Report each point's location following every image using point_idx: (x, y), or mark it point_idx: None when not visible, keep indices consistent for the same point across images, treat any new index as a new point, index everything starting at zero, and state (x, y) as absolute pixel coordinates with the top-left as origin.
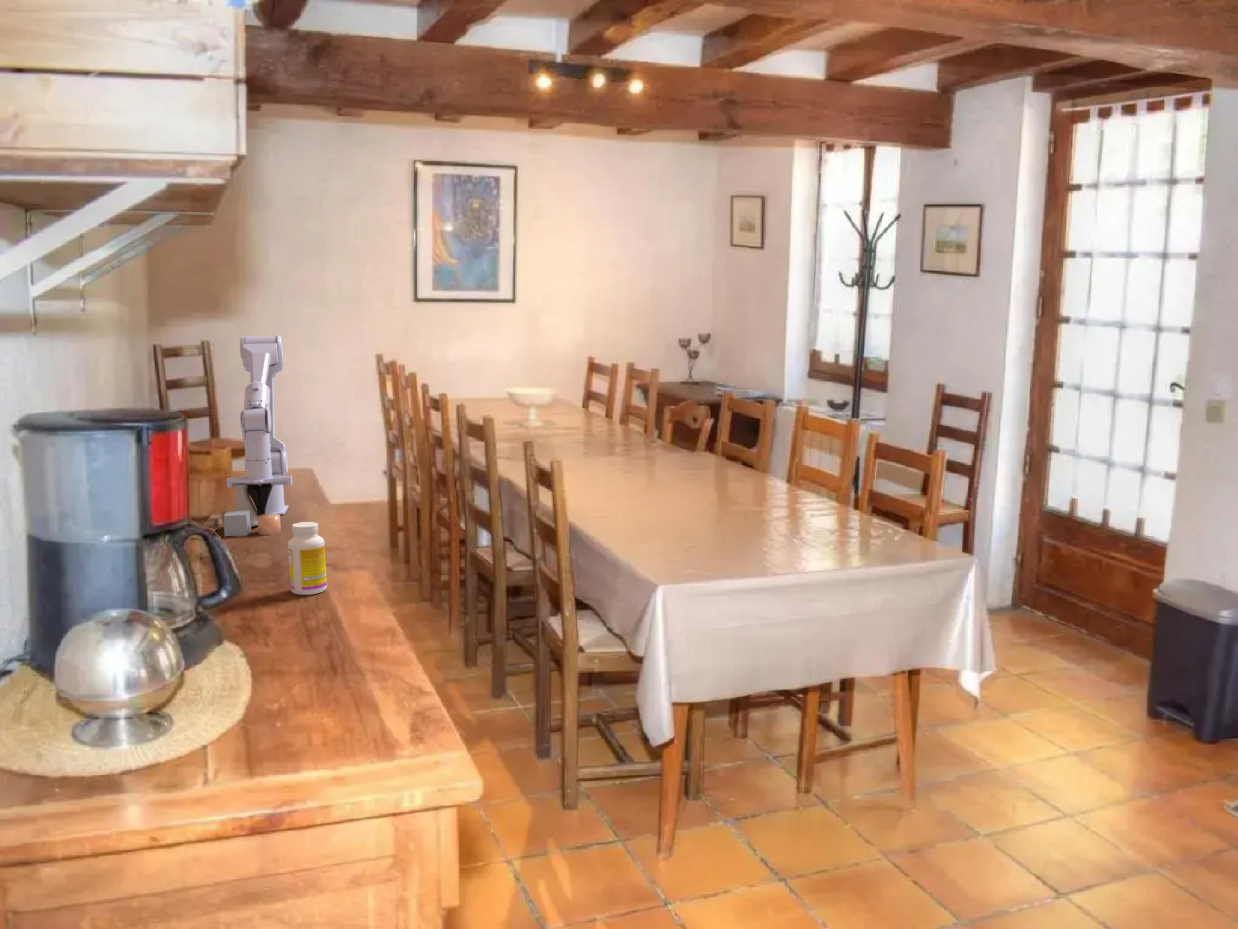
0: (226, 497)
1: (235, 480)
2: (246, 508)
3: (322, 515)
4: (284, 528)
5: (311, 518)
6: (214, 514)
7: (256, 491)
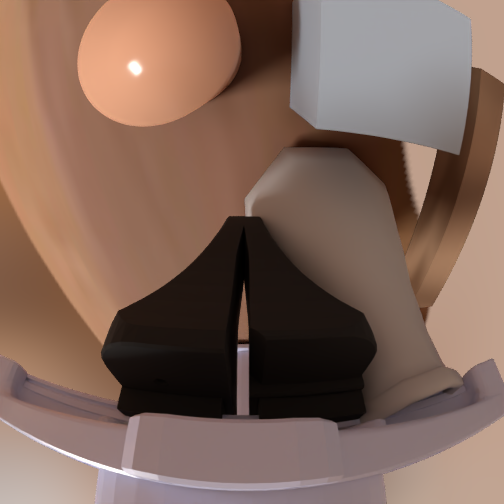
0: None
1: (478, 421)
2: (341, 226)
3: (87, 316)
4: (127, 142)
5: (96, 292)
6: (436, 288)
7: (266, 323)
